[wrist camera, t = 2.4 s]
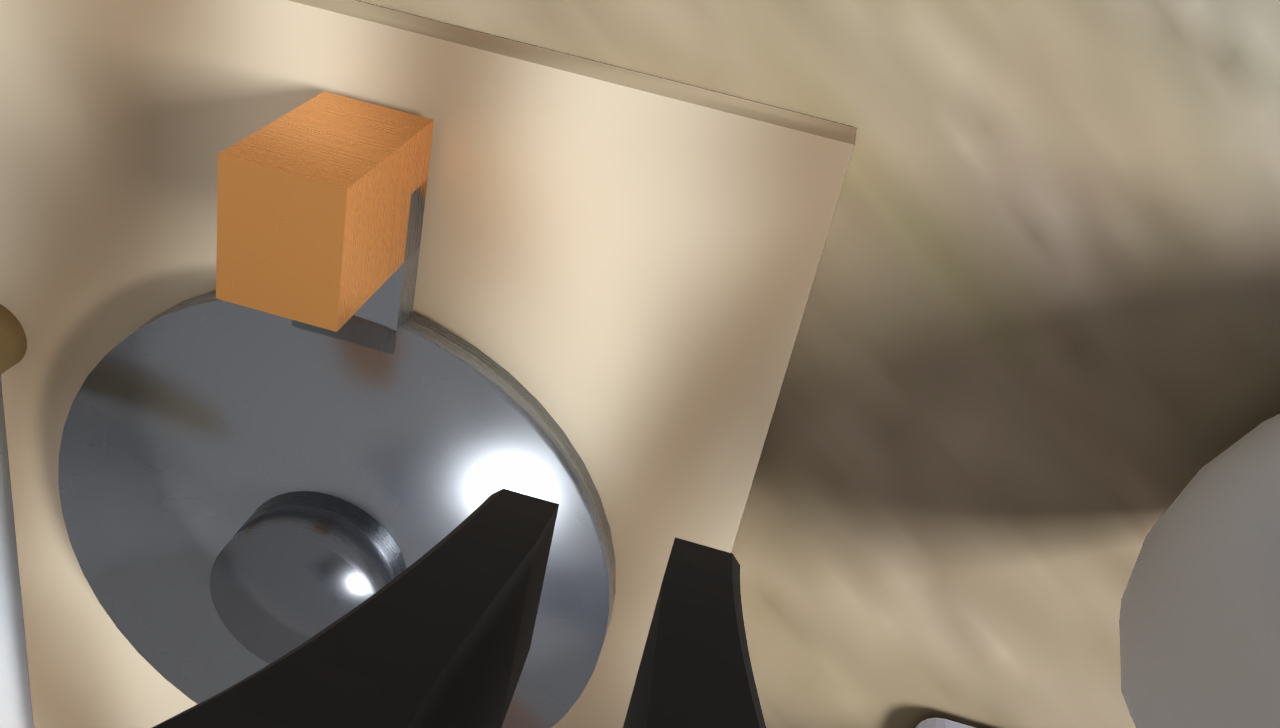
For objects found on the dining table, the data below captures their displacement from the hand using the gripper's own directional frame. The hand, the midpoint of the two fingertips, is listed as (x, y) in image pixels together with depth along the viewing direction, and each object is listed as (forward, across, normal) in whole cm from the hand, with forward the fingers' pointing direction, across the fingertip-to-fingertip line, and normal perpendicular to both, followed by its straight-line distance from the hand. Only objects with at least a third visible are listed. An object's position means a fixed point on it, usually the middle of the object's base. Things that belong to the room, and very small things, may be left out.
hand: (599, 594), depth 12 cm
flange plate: (+9, +6, +7) cm, 13 cm away
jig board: (+10, +6, +8) cm, 15 cm away
